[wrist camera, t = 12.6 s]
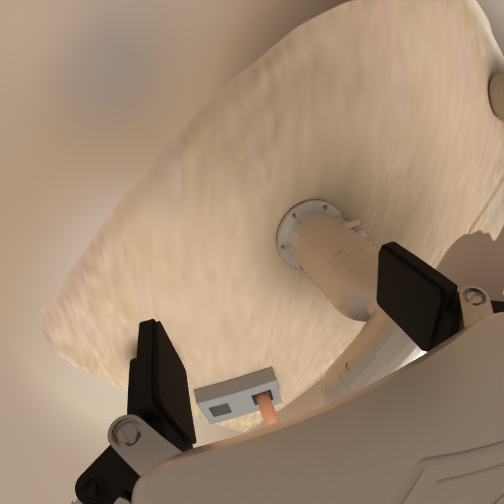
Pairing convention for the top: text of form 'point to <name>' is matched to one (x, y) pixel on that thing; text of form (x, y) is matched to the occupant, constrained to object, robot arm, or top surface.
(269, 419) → the peg
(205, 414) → the socket block
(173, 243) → the top surface
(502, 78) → the canister
